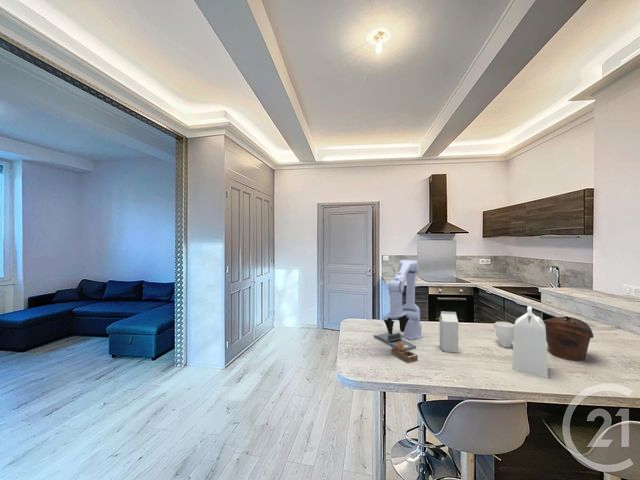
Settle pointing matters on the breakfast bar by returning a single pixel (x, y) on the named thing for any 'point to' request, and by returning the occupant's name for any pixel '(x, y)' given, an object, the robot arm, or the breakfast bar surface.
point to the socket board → (405, 355)
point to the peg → (400, 346)
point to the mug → (504, 333)
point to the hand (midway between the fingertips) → (396, 332)
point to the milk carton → (448, 331)
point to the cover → (390, 336)
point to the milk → (530, 345)
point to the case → (568, 337)
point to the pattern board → (394, 344)
